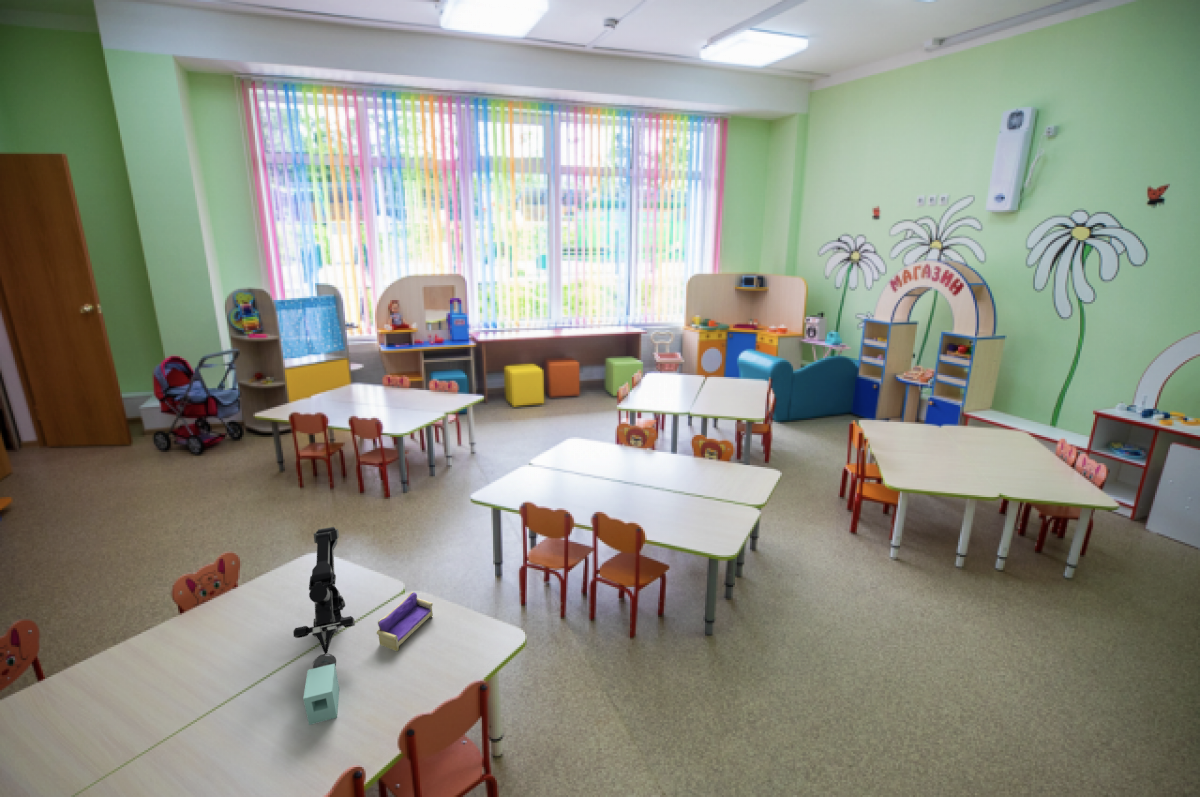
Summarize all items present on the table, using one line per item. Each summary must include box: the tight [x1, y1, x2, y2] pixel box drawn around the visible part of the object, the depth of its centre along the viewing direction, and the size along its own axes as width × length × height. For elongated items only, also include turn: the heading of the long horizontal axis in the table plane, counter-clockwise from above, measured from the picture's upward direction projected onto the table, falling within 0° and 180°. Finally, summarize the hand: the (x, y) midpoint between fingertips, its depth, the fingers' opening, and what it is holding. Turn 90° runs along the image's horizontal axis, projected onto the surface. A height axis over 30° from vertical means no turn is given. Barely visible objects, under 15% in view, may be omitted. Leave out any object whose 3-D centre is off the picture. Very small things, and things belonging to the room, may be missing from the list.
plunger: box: [312, 653, 337, 669], centre depth 187 cm, size 12×7×7 cm, turn 20°
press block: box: [302, 664, 340, 726], centre depth 182 cm, size 12×8×10 cm, turn 20°
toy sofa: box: [376, 591, 434, 652], centre depth 214 cm, size 21×9×10 cm, turn 156°
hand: (326, 653), depth 196 cm, fingers closed
